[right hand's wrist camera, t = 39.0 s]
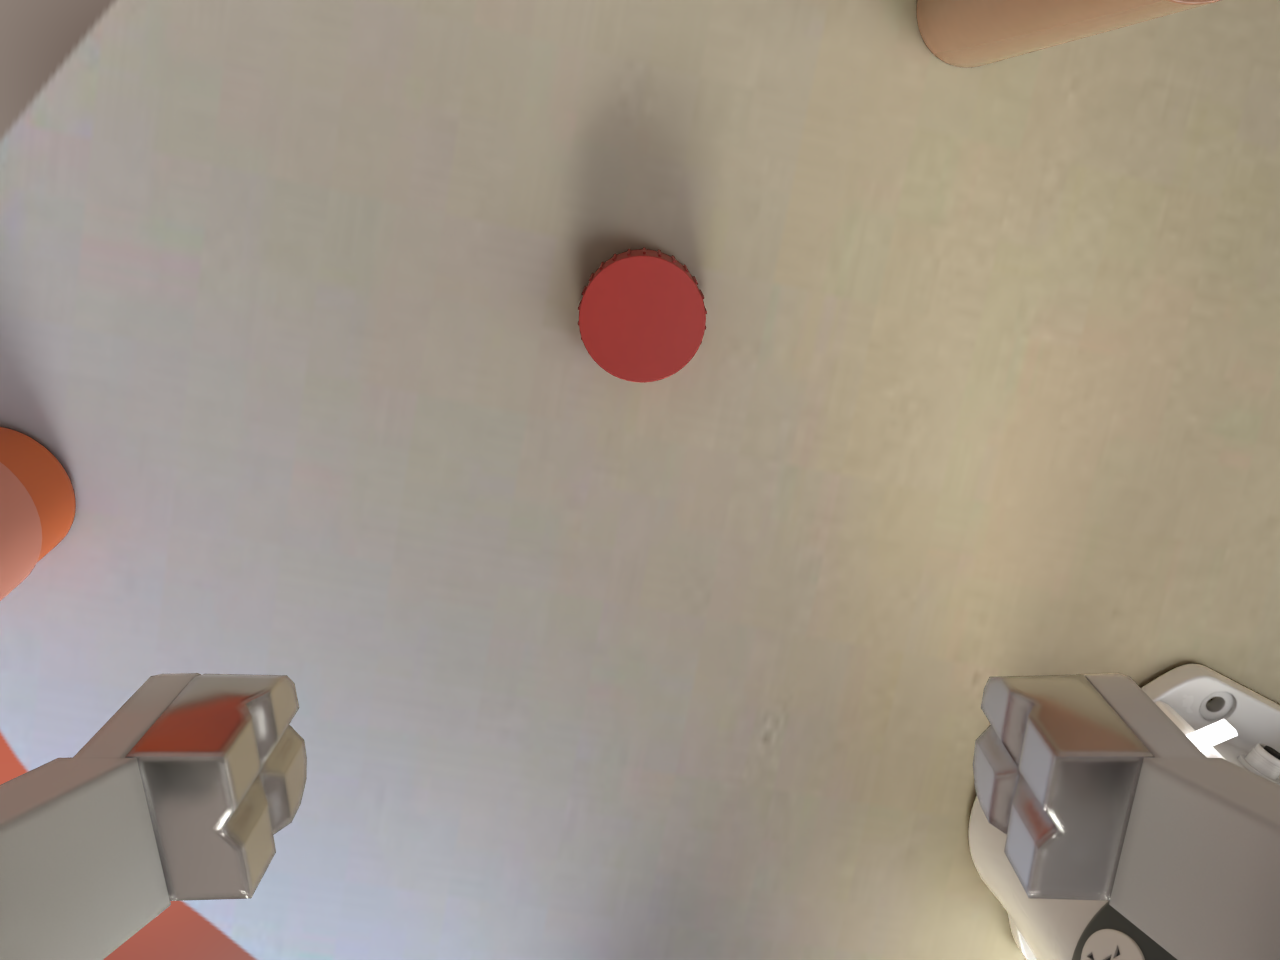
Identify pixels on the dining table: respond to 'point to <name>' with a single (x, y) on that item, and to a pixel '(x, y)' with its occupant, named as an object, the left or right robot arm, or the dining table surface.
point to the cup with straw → (30, 506)
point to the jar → (1026, 24)
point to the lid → (642, 316)
